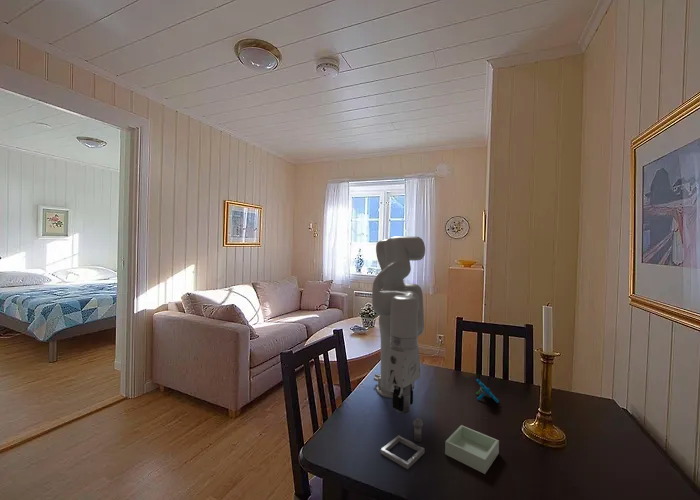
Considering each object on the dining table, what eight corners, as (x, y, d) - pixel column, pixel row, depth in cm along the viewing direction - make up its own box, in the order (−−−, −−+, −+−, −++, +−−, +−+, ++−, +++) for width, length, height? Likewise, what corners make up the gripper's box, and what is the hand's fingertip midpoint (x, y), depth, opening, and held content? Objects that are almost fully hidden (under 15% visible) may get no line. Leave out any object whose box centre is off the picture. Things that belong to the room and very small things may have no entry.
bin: (445, 454, 84) (445, 441, 83) (461, 436, 91) (461, 424, 91) (485, 474, 76) (485, 459, 76) (498, 453, 84) (498, 440, 84)
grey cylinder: (405, 415, 82) (405, 383, 81) (392, 410, 84) (393, 379, 84) (412, 409, 85) (413, 378, 84) (400, 404, 87) (401, 374, 87)
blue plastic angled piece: (504, 404, 107) (482, 381, 109) (491, 416, 107) (470, 392, 110) (495, 394, 118) (475, 373, 120) (484, 404, 118) (464, 383, 120)
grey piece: (380, 453, 84) (380, 431, 84) (407, 431, 94) (407, 411, 94) (407, 469, 78) (407, 445, 78) (433, 444, 88) (433, 422, 88)
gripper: (397, 352, 75) (396, 425, 76) (430, 336, 87) (429, 399, 88) (374, 345, 80) (373, 413, 81) (408, 331, 92) (407, 390, 93)
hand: (402, 405), depth 84 cm, fingers closed on grey cylinder, 4 cm apart
